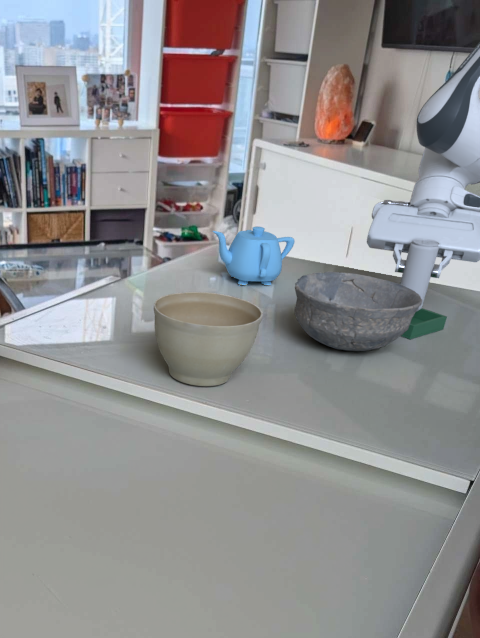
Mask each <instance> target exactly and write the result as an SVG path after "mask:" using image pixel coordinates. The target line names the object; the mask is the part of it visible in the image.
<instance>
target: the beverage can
mask: <svg viewBox="0 0 480 638" xmlns="http://www.w3.org/2000/svg"><path fill="white" fill-rule="evenodd" d="M438 245H439V242H437V241H434V240H430V239H422V238H417V239H413V240H412V243H411V244H410V247H409V251H408V253H407V255H406V258H405V260H406V263H405V267H404V271H403V273H401V275H402V276H401V277H400V282H399V284H401V285H403V286H406V287H407V288H409V289H411V290H413V291H415V292H416V293H418V294H419V296H420V297H421V299H422V304H421V305H420V307H419V308H418V310H417V311H419V310H420V309H421V308H423V305H424V302H425V300H426V299H425V298H426V295H427V292H428V288H429V285H430V281H431V278H432V277H431V274H432V270H433V267H434V264H436V259H437V258H438V257H437V253H438V250H439V247H438ZM417 311H416V312H417Z"/></svg>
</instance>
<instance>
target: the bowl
mask: <svg viewBox="0 0 480 638" xmlns="http://www.w3.org/2000/svg"><path fill="white" fill-rule="evenodd" d="M294 290H295V295H296V301H295V306H294V315H295V318H296V321H297V322H298V324H299V325H300V326H301V328H302V329H303V331H304V332H305V333H306V334H307V335H308V336H309V337H311V338H312V339H314V340H315V341H317V342H318V343H321V344H322V345H325V346H327V347H330V348H332V349H335V350H343V351H352V352H353V351H354V352H355V351H356V352H360V351H361V352H366V351H372V350H377V349H380V348H383V347H385V346H387V345H389V344H391V343H393V342H394V341H395V340H397V339H399V338H400V337H402V336H401V335H402V334H404V333H405V332H406V331H407V330H408V328H409V325H410V323H411V320H412V317H413V316H414V314H415V312H416V311H417V310H418V308H419V307H420V305H421V304H422V299H421V297H420V296H419V294H418V293H416V292H415V291H413V290H411V289H409V288H407V287H406V286H403V285H401V284H400V283H398V282H394V281H391V280H388V279H383V278H379V277H375V276H374V277H373V276H370V275H363V274H359V273H352V272H341V271H325V272H322V271H319V272H312V273H308V274H303V275H302V276H301V277H299V278H297V280H296V282H295V283H294Z"/></svg>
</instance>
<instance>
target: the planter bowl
mask: <svg viewBox="0 0 480 638" xmlns="http://www.w3.org/2000/svg"><path fill="white" fill-rule="evenodd" d="M153 313H154V333H155V338H156V343H157V346H158V348H159V352H160V354H161V356H162V358H163V359H164V361H165V363H166V364H167V366H168V373H169V375H170V377H172V378H173V379H175V380H176V381H178V382H181V383H183V384H186V385H191V386H198V387H215V386H216V387H217V386H219V385H224V384H225V383H227V382H228V381H229V380H230V379H231V376H232V373H233V372H234V371H235V370H236V369H237V368H239V366H241V364H242V363H243V362H244V361H245V359H246V358H247V356H248V355H249V353H250V352H251V350H252V348H253V346H254V343H255V341H256V340H257V335H258V332H259V327H260V324H261V322H262V320H263V314H264V312H263V310H262V309H261V307H259V306H258V305H256V304H255V303H254V302H251V301H249V300H247V299H243V298H241V297H237V296H233V295H229V294H223V293H217V292H208V291H186V292H185V291H182V292H175V293H174V292H173V293H169V294H165V295H162V296H160V297H158V298H157V299H156V300H155V301H154V302H153Z"/></svg>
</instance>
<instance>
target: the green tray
mask: <svg viewBox="0 0 480 638" xmlns="http://www.w3.org/2000/svg"><path fill="white" fill-rule="evenodd" d="M447 317H448V316H446V315H444V314H441V313H438V312H435V311H432V310H429V309H425V308H424V307H422V308H421V309H420V310H419V311H417V312H415V314H414V316H413V317H412V320H411V323H410V325H409V328H408V330H407V331H406V332H405V333H404V334H402V335H401V336H400V337H403V338H404V339H408V340H413V339H416V338H420V337H423V336H426V335H430V334H433V333H436V332H440V331H443V330H444V329H445V326H446V322H447V319H448V318H447Z"/></svg>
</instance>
